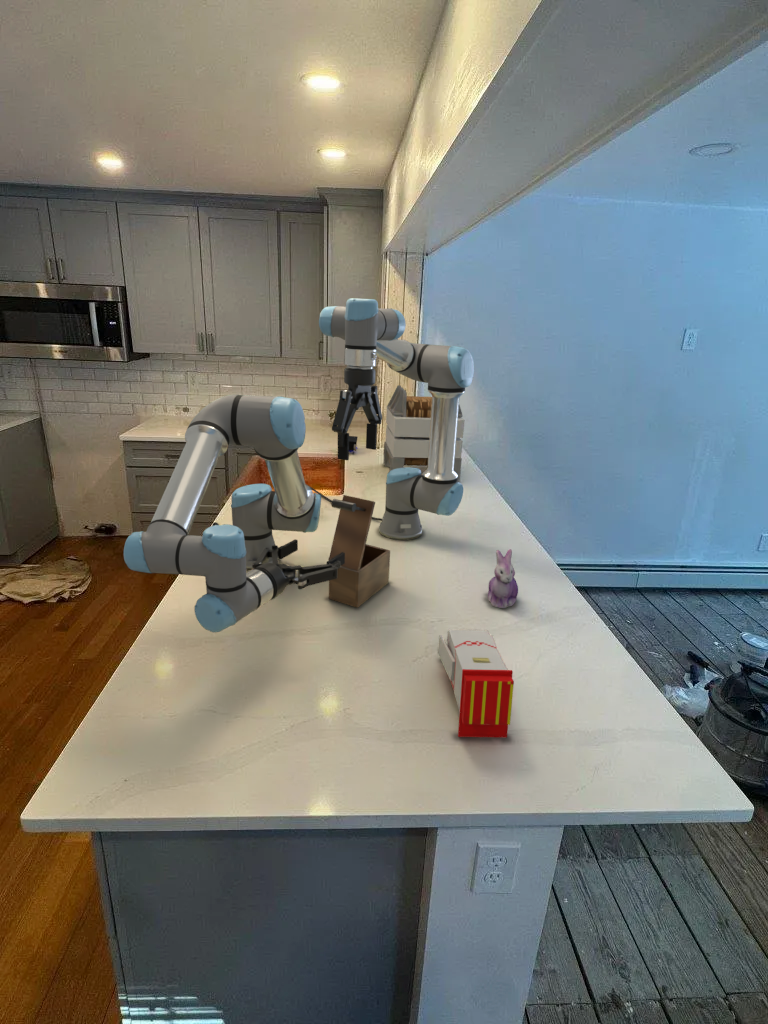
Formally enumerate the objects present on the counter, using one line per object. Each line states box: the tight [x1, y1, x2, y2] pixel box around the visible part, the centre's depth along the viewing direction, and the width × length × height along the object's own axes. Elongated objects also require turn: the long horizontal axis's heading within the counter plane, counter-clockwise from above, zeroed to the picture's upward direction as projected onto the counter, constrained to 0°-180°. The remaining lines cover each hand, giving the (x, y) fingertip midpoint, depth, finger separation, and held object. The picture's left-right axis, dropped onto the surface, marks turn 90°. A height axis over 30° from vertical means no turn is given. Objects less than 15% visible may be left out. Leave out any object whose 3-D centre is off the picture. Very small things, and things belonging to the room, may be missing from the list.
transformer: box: [383, 384, 465, 483], centre depth 268 cm, size 34×33×41 cm
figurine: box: [487, 548, 519, 609], centre depth 154 cm, size 9×10×15 cm
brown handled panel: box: [327, 494, 376, 570], centre depth 145 cm, size 18×9×9 cm
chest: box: [328, 543, 391, 609], centre depth 157 cm, size 17×9×10 cm, turn 151°
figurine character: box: [349, 435, 359, 455], centre depth 308 cm, size 7×8×15 cm
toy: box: [437, 628, 515, 738], centre depth 117 cm, size 12×13×30 cm
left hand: (319, 551), depth 136 cm, fingers open, 13 cm apart
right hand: (357, 454), depth 143 cm, fingers open, 13 cm apart
